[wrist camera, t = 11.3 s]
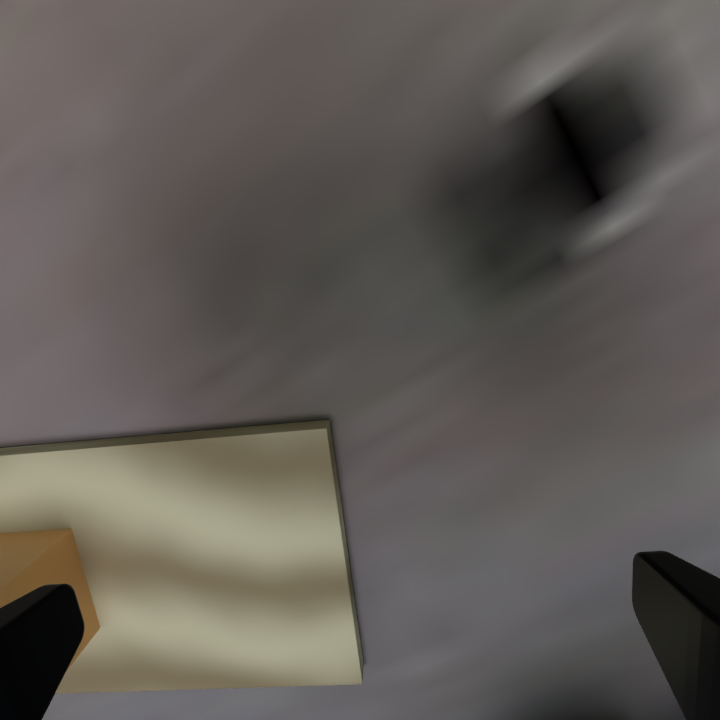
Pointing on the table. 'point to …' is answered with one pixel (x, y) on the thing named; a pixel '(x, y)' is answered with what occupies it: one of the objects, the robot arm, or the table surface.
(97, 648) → the birch board
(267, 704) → the table surface
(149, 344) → the table surface
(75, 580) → the tan wooden cube
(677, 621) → the robot arm
